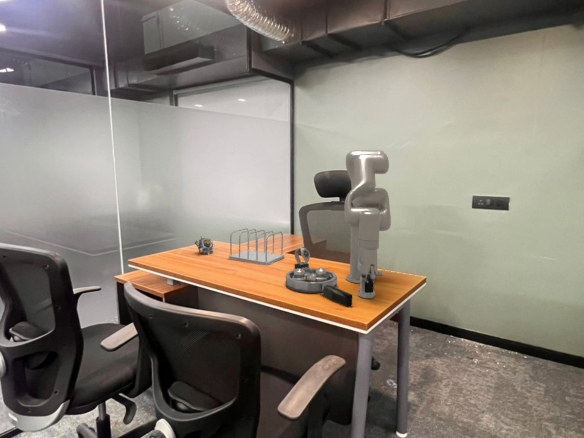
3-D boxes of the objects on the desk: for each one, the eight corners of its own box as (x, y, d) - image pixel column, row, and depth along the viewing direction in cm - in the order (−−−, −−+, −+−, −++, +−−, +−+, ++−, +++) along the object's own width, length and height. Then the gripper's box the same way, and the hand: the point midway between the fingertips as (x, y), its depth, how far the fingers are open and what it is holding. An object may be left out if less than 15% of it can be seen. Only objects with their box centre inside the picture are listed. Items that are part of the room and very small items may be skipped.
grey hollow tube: (371, 292, 137) (372, 273, 136) (376, 298, 131) (377, 278, 130) (356, 292, 136) (357, 274, 135) (361, 298, 130) (361, 279, 129)
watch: (304, 273, 164) (304, 250, 162) (291, 269, 169) (292, 247, 168) (311, 270, 168) (312, 248, 166) (299, 267, 173) (299, 245, 172)
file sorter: (228, 259, 189) (227, 231, 187) (247, 253, 204) (247, 226, 202) (266, 265, 176) (266, 235, 174) (284, 258, 191) (284, 230, 189)
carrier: (330, 276, 159) (330, 263, 158) (342, 292, 137) (342, 277, 136) (283, 277, 156) (283, 264, 155) (287, 294, 135) (288, 279, 134)
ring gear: (330, 274, 158) (330, 267, 158) (341, 289, 137) (341, 282, 137) (284, 275, 156) (284, 268, 155) (288, 291, 135) (288, 283, 135)
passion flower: (208, 263, 200) (201, 249, 192) (194, 257, 205) (187, 244, 197) (220, 249, 207) (214, 235, 199) (206, 244, 212) (200, 230, 204)
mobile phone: (354, 293, 124) (324, 281, 135) (348, 295, 122) (319, 283, 133) (353, 306, 124) (324, 294, 136) (347, 308, 123) (318, 295, 134)
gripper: (352, 238, 138) (351, 282, 141) (365, 249, 122) (363, 298, 125) (370, 238, 139) (369, 282, 142) (386, 248, 122) (384, 298, 125)
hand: (366, 289), depth 133 cm, fingers closed on grey hollow tube, 4 cm apart
